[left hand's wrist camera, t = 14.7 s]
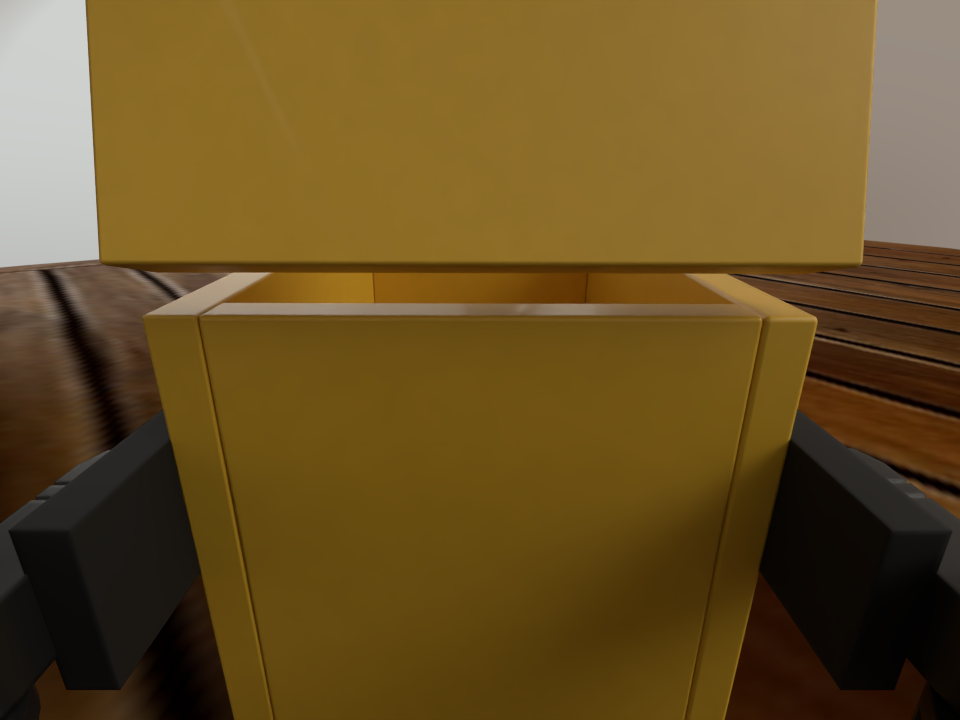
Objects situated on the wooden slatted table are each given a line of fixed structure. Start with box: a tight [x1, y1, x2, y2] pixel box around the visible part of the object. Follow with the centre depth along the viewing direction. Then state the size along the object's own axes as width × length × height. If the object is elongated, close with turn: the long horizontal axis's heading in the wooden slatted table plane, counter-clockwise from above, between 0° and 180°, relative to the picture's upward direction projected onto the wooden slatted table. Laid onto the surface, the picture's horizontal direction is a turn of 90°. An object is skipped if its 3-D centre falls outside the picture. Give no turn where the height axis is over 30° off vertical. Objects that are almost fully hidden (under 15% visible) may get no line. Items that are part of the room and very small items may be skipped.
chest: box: [142, 273, 817, 720], centre depth 16 cm, size 14×10×10 cm
